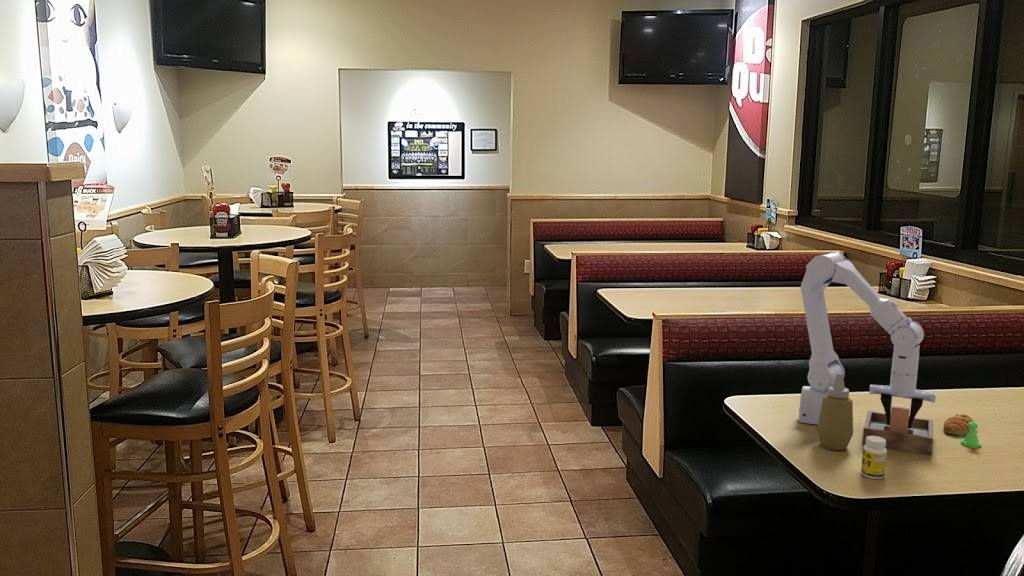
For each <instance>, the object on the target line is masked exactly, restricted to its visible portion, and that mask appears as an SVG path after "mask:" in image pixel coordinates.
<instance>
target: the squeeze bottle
mask: <svg viewBox="0 0 1024 576" xmlns="http://www.w3.org/2000/svg"><path fill="white" fill-rule="evenodd" d="M849 396H850V390H849V388H846V387H845V381H844V379H843V374H840V373H838V374H837V376H836V379H835V382H834V385H833V386H831V387H829V388H828V395H826V396H825V397H824V398H823V402H822V407H821V412H820V417H819V422H818V425H817V429H816V432H817V435H818V438H819V442H820V445H821V447H823V448H825V449H828V450H832V451H833V450H834V451H844V450H847V448H848V446H849V444H850V442H851V440H852V437H854V412H853V411H854V409H853V407H854V406H853V405H854V404H853V400H852V399H851V398H850V397H849Z"/></svg>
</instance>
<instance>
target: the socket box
mask: <svg viewBox="0 0 1024 576" xmlns="http://www.w3.org/2000/svg"><path fill="white" fill-rule="evenodd" d="M889 428H890V426H889V425H887V419H886V414H885V412H882V411H881V412H879V411H873V410H867V413H866V417H865V421H864V425H863V429H862V430H863V431H862V432H863V433H862V442H861V444H862V445H866V437H867V436H878V437H882V438H884V439H885V440H886V447H887V448H886V449H890V448H892V449H893V450H896V449H898V450H897V451H903V450H904V452H909V451H911V452H910V453H915V452H917V453H916V454H921V453H922V455H927V456H932V454H933V453H932V452H933V443H934V419H931V418H921V417H916V416H915V418H914V420H913V422H912V425H911V429H909V428H908V432H907V433H900V432H894V431H889Z"/></svg>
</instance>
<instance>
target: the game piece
mask: <svg viewBox="0 0 1024 576" xmlns="http://www.w3.org/2000/svg"><path fill="white" fill-rule="evenodd" d="M968 428H970V430H969V432H968V433H967V435H965V437H964V438H962V439H961V440H960V444H961V445H962V446H964V447H968V448H972V449H973V448H975V449H977V448H980V447H982V443H981V442H980V441H979V438H978V435H977V431H976V430H977V429H978V428H979V426H978V422H976V421H974V420H973V421H972V422H969V423H968ZM975 429H976V430H975Z"/></svg>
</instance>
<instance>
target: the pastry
mask: <svg viewBox="0 0 1024 576" xmlns="http://www.w3.org/2000/svg"><path fill="white" fill-rule="evenodd" d="M972 421H974V419H973V418H972V417H971V416H969V415H967V414H963V413H962V414H958V413H957V414H955V415H953V416H950V417H948V418H947V419H946V420H945V421H944V423H943V433H945V434H951V435H955V436H959V437H961V436H966V435H967V433H968V432H969V430H970V428H968V423H969V422H972ZM976 430H977V429H975V431H976Z"/></svg>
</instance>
